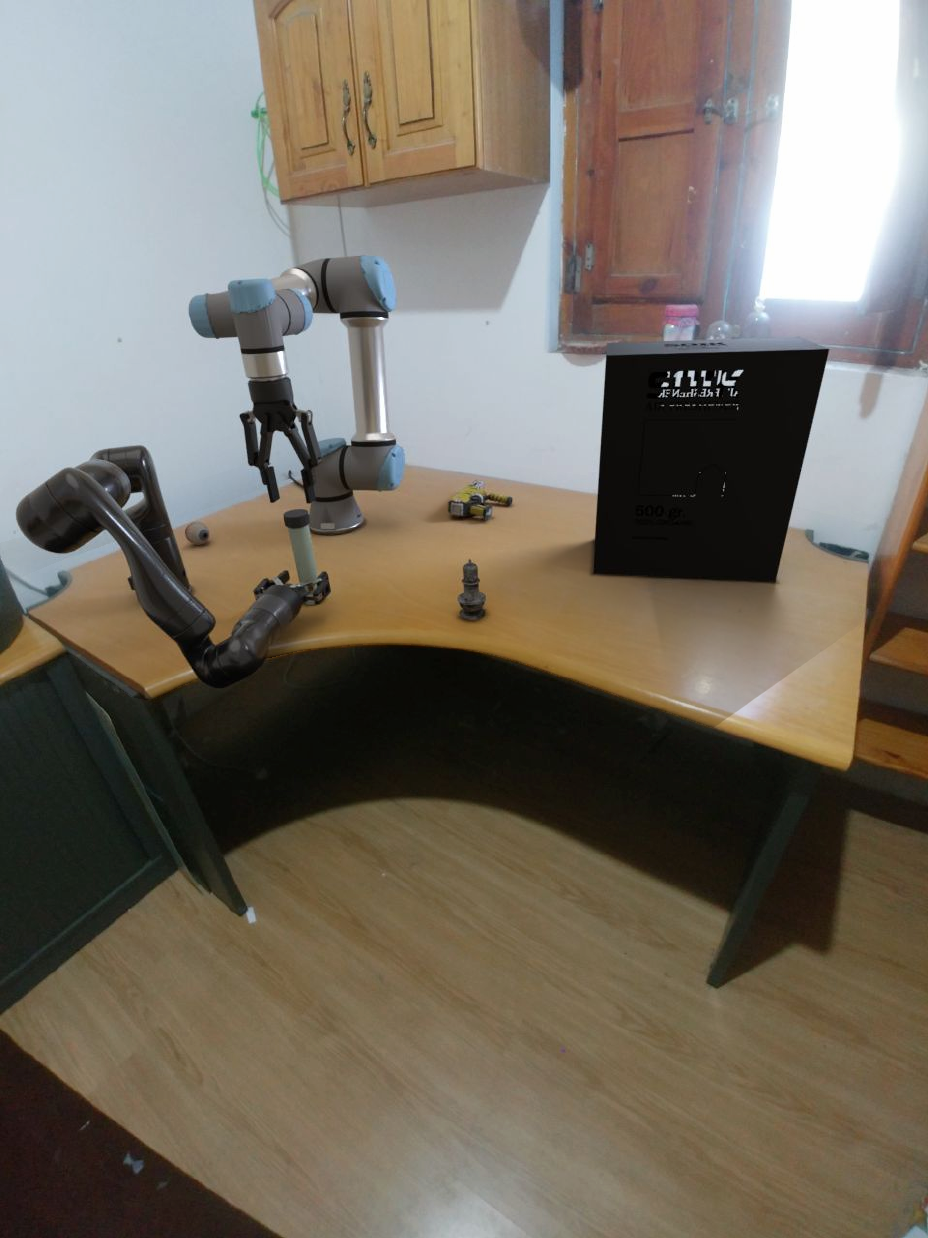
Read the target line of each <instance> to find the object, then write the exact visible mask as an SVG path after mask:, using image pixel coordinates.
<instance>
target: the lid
mask: <svg viewBox="0 0 928 1238" xmlns="http://www.w3.org/2000/svg"><path fill="white" fill-rule="evenodd" d="M282 517H283V522H284V525H285V527H286V528H287V529H288V528H301V527H304V526H307V525H308V524H309V523H310V518H309V511H308V510H307V509H304V508H295V509H290V510H287V511H285V512H284V513H282Z"/></svg>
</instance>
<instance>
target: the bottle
mask: <svg viewBox="0 0 928 1238" xmlns="http://www.w3.org/2000/svg"><path fill="white" fill-rule="evenodd" d="M287 530H288V536H289V539H290V545H291V550H292V554H293V560H294V564H295V569H296V573H297V578H298V584H299V583H301V582H304V581H307V580H309V581H313V580H315V579H317V577H318V576H319V572H318V567H317V562H316V557H315V551H314V546H313V541H312V535H311V530H310V529H309V524H308V525H307V526H304V527H301V528H288V527H287ZM304 588H305V589H306V591H307V593H308V589H307V586H305V587H304ZM313 588H314V589H316V588H317V584H316V585H314V586H313ZM304 605H306V606H307V605H308V606H313V605H316V604H315V602H314V601H311V600H308V601H307V602H306V603H304Z"/></svg>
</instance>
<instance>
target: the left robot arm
mask: <svg viewBox="0 0 928 1238" xmlns="http://www.w3.org/2000/svg"><path fill="white" fill-rule="evenodd" d="M139 493H142V494H143V495H142V496H143V498H142V499H141V500H139V501H138V502H137V503H135V504H133V505H131V506H129V507H127V508H126V509H124V510H123V508H124V507H125V506H126V504H127V503H128V501H129V500H130V498H131V494H139ZM166 507H167V506H166V505H165V501H164V497H163V493H162V490H161V487H160V483H159V478H158V474H157V470H156V467H155V463H154V460H153V456H152V455H151V453H150V451H149V449H148V448H147V447H146V446H145V445H142V444H135V445H133V444H132V445H126V446H117V447H108V448H102V449H100V450H97V451H96V452H94V453H93V454H92V455H91V457H90V458H89V459H88V460H86V461H85V462H82V463H80V464H78V465H76V466H74V467H72V466H71V467H70V466H68V467H64V468H62V469H61V470H59V471H58V472H56V473H55V474H54V475H52V476H51V477H50V478H48V479H47V480H46V481H44V482H43V483H41V484H40V485H38V486H37V487H36V488H35V489H33V490H32V491H30V492H29V493H28V494H26V495H25V496H24V497H23V498H22V499H21V500H19V503H18V504H17V506H16V508H15V520H16V523H17V526H18V527H19V530H20V531H21V532H22V534H23V535H24V537H25V538H26V539H27V540H28V541H29V542H30V543H32V544H33V545H35V546H36V547H38V548H39V549H41V550H44V551H46V552H49V553H53V554H57V555H58V554H60V555H61V554H62V555H63V554H65V555H66V554H71V553H74V552H75V551H77V550H79V549H80V548H82V547H83V546H85V545H87V543H89V542H91V541H92V540H94V539H95V538H96V537H97V536H99V535H100V534H101V533H102V532H104V531H107V532H108V533H109V534H110V536H111V537H112V538H113V540H115V542H116V543H117V544H118V546H119V547H120V550H122V553H123V555H124V557H125V560H126V562H127V566H128V568H129V572H130V576H128V577H127V582H128V584H129V587H130V590H131V591H135V595H136V598H137V601H138V603H139V606H140V608H141V609H142V611H143V613H145V615H146V617H148V618H149V620H150V621H151V622H152V623H154V625H156V627H158V628H159V629H160V630H161V631H162V632H163V633H164V634H165V635H166V636H167V637H169V638H170V640H172V641H173V642H174V643H175V644H176V646H177V647H178V649H179V650H180V652H181V654H182V656H183V657H184V659H185V660H186V662H187V663H188V666H189V667H190V668H191V670H192V672H193V673H194V674H195V676H196V677H197V678H198V679H199V681H201V682H202V683H204V684H205V685H207V686H209V687H211V688H214V689H225V688H228V687H230V686H233V685H234V684H237V683H238V682H240V681H242V680H245V679H246V678H248V677H251V676H252V675H253V674H255V673H256V672H257V671H258V670H259V669H260V668H261V667H262V666H263V664H264V662H265V661H266V658H267V655H268V653H269V651H270V647H271V646H272V645H273V644H274V642H275V641H276V640H277V638H278V637H280V636H281V635H282V634H283V633H284V632H285V631H286V629H288V628H289V626H290V625H291V624H292V622H294V620H295V619H296V617H297V616H298V615H299V613H300V612H301V609H302V607H303V605H305V603H306V602H307V601H308V600H311V601H314V602H315V604H314V605H317V606H318V605H321V604H322V603H323V602H324V600H325V599H326V598H327V597H328V596H329V595H330V594H331V592H332V589H331V583H330V577H329V574H328V573H327V571H323V570H322V571H321V573H320V574H318V577H317V579H315V580H313V581H309V580H307V581H304V582H301V583H299V582H298V583H290V582H289V581H290V572H289V570H287V569H284V570H283V571H281V572H280V573H279V574H278V575H277V576H275V577H272V579H269V578H268V577H265V578H263V579H262V580H261V581H260V582H259V583H258V584H257V586H255V588H254V589H253V590H252V591H253V595H254V600H255V601H254V602H253V603H252V604H251V605H250V606H249V608H248V610H246V612H245V613H244V614H243V615H242V616H241V617H240V619H239V620H238V621H237V622H236V623H235V624H234V626H233V628H232V630H231V634H230V636H229V637H228V638H226V639H224V640H222V641H220V642H219V643H216V644H215V643H214V642H213V640H212V639H211V637H210V634H211V633H212V632H213V630H214V629H215V626H216V623H217V621H216V617H215V616H214V615H213V613H212V612H211V611H210V610H209V608H207V607H206V606H205V605H204V604H203V603H202V602H201V601H200V600H199V599H198V598H197V597H196V596H195V595H194V594H193V593H192V592H193V589H192V586H191V584H190V581H189V577H188V571H187V567H186V566H185V564H184V560H183V558H182V555H181V552H180V549H179V546H178V543H177V539H176V536H175V533H174V530H173V526H172V523H171V519H170V516H169V514H168V511H167V508H166ZM288 582H289V583H288ZM316 584H317V588H316V589H314V588H313V586H314V585H316ZM305 586H307V589H308V593H307V591H306V589H305V588H304V587H305Z"/></svg>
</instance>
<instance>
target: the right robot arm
mask: <svg viewBox="0 0 928 1238" xmlns="http://www.w3.org/2000/svg"><path fill="white" fill-rule="evenodd" d="M396 306H397V290H396V285H395V281H394V277H393V274H392V272H391V269H390V266H389V265H388V263H387V262H386V260H385V259H384V258H382V257H381V256H379V255H366V254H362V255H361V254H360V255H352V256H340V257H325V258H324V257H323V258H317V259H314V260H312V261H308V262H305V263H302V264H299V265H296V266H294V267H291V268H287V269H286V270H284V271H283V272H282V273H281V274H280V275H279V276H278V277H274V278H270V279H269V278H250V279H247V278H246V279H235V280H234V279H233V280H230V281H229V283H228V284H227V290H225V291H222V292H217V293H209V292H208V293H206V292H205V293H204V294H197V295H194V296H193V297H192V298H191V299H190V301H189V303H188V317H189V320H190V323H191V324H190V325H192V328H193V329H194V331H195V332H196V333H197V334H198V335H199V336H200V337H202V338H204V339H216V340H219V339H229V338H230V339H231V338H237V340H238V343H239V348H240V349H239V350H240V354H241V355H240V356H241V360H242V365H243V369H244V373H245V377H246V378H247V379H249V380H248V381H247V388H248V391H249V397H250V400H251V402H252V409H251V410H246V411H244V412H241V413H240V414H239V419H240V421H241V424H242V427H243V433H244V440H245V449H246V458H247V464H248V466H250V467H255V468H257V469H258V471H259V475H260V478H261V483H262V485H263V486H266V489H267V494H268V499H269V503H270V504H274V503H276V502H277V501H278V500H280V499H281V495H280V492H279V486H278V481H277V476H276V473H275V467H274V466H273V465H271V462H270V460H271V453H272V444H273V438H274V434H275V432H279V433H283V435H284V436H285V437H286V438H287V439H288V441H289V444H290V445H291V447H292V449H293V451H294V452H295V454H296V456H297V458H298V459H299V462H300V464H301V465H302V467H303V468H302V469H301V470H300V475H301V480H302V481H301V482H302V483H301V482H299V481H297V479H295V478H294V477H293V476H292V470H291V469H289V470H288V477H289V479H290V480H291V481H292V482H294V483H295V484H296V485H298V486H299V487H301V488H302V489H303V491H304V495H305V502H306V504H310V507H309V512H308V514H309V518H310V523H309V530H310V532H312V533H314V534H317V535H323V536H324V535H325V536H327V535H329V536H331V535H339V534H340V535H341V534H345V533H350V532H353V531H355V530H357V529H359V528H361V527H362V526H363V525H364V523H365V519H364V514H363V512H362V510H361V508H360V505H359V504H358V501H357V500H356V498H355V495H354V491H369V492H371V491H372V492H373V491H374V492H375V491H376V492H379V493H381V492H389V491H390V492H391V491H392V492H393V491H395V490H396V489H398V487H400V485H401V482H402V481H403V478H404V475H405V469H406V468H405V467H406V454H405V450H404V448H403V446H401V445H400V444H397V437H396V436H395V435H394V434H393V433H392V432H391V429H390V416H389V400H388V399H389V397H388V382H387V371H386V370H387V369H386V368H387V367H386V351H385V340H384V335H385V334H384V328H385V326H387V324H388V323H389V320H390V318H389V313H391V312H392V311H394V310H395V309H396ZM314 314H329V315H330V314H331V315H333V314H335V315H338V314H339V320H340V322H341V323H342V324H343V325H344V326H345V328H346V329H347V340H348V353H349V364H350V377H351V387H352V388H351V390H352V398H353V399H352V401H353V411H354V412H353V413H354V424H355V433H354V434H353V436H351V438H350V444H347V441H346V439H345V438H343V437H331V438H327V439H326V438H325V439H322V440H318V438H317V434H316V431H315V428H314V423H313V419H314V417H313V416H314V415H313V411H312V409H311V410H310V409H307V410H302V409H299V408H298V407H297V405H296V404H295V401H294V396H295V395H294V390H293V386H292V380H291V378H290V377H289V376H287V375H288V374H289V373H290V369H289V364H288V360H287V359H288V358H287V353H286V348H285V344H284V337H287V336H294V335H295V336H297V335H299V334H302V333H303V332H305V331H307V330H308V329H309V328H310V326H311V325H312V322H313V318H314ZM296 418H297V419H298V422H299V423H300V428H301V431H302V432H301V433H302V435H303V438H302V436H301V434H300V433H299V427H298V426H297V424H296V422H295V420H296ZM256 421H258V422H259V423H260V428H259V429H260V430H259V435H260V440H258V439H259V438H258V431H257V424H256V423H257V422H256ZM303 439H304V440H303Z"/></svg>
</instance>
